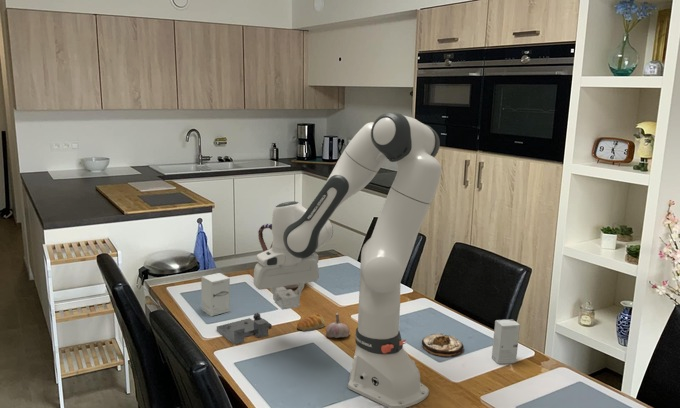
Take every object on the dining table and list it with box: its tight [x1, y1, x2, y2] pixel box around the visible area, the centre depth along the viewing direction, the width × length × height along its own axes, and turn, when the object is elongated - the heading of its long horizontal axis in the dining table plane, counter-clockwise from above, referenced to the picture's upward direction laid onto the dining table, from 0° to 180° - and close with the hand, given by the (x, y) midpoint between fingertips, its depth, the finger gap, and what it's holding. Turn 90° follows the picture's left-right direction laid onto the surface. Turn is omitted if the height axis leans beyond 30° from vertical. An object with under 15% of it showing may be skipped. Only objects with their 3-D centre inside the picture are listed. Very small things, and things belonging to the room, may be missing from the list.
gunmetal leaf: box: [216, 317, 269, 346], centre depth 175 cm, size 12×12×4 cm
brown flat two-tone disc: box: [421, 332, 465, 358], centre depth 170 cm, size 15×15×4 cm
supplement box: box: [200, 272, 231, 317], centre depth 191 cm, size 7×7×13 cm
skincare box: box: [491, 319, 521, 365], centre depth 162 cm, size 6×4×12 cm
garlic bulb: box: [325, 312, 350, 339], centre depth 175 cm, size 8×7×8 cm
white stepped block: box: [274, 287, 301, 311], centre depth 168 cm, size 10×6×4 cm, turn 27°
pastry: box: [296, 313, 326, 332], centre depth 181 cm, size 9×7×4 cm
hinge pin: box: [253, 312, 273, 330], centre depth 182 cm, size 9×2×2 cm, turn 39°
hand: (287, 298), depth 167 cm, fingers closed on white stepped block, 5 cm apart
